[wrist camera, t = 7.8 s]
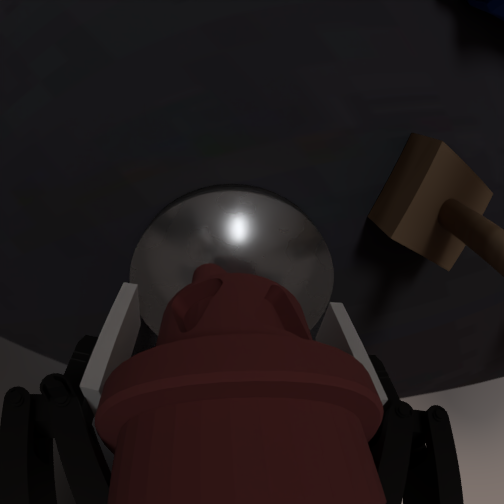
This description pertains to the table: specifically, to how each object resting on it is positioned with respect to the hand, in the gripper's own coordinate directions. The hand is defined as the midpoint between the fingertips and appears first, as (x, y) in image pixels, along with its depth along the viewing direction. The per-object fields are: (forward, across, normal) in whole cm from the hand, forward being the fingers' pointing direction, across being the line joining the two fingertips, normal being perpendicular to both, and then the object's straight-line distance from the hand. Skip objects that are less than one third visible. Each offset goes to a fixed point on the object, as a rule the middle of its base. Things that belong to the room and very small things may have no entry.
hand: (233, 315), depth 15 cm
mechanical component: (+1, 0, 0) cm, 1 cm away
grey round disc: (+3, 0, 0) cm, 3 cm away
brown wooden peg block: (+3, +11, +8) cm, 14 cm away
